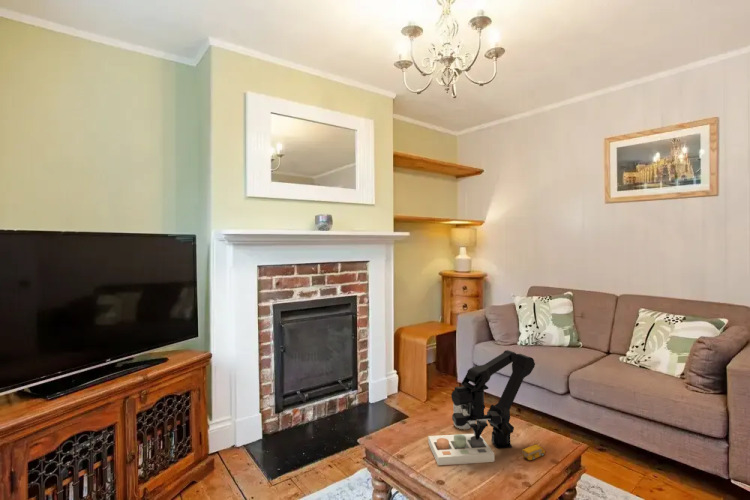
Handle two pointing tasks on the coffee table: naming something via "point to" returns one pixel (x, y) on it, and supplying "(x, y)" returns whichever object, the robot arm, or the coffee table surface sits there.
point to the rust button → (442, 444)
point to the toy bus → (533, 452)
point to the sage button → (459, 441)
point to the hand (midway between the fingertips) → (476, 439)
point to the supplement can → (458, 410)
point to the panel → (460, 451)
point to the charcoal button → (476, 442)
